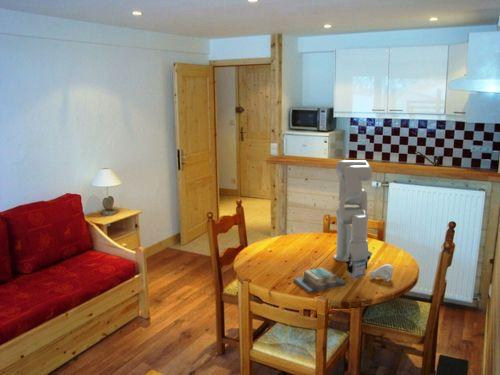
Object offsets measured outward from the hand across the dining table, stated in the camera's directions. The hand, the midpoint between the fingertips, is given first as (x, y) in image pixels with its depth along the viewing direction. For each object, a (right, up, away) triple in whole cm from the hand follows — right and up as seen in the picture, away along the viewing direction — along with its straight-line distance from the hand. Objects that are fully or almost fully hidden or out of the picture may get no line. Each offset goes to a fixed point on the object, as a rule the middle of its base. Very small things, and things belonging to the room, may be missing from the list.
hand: (357, 270), depth 233 cm
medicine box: (0, -3, +1) cm, 3 cm away
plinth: (-18, -8, +7) cm, 21 cm away
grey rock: (+15, -7, +11) cm, 20 cm away
